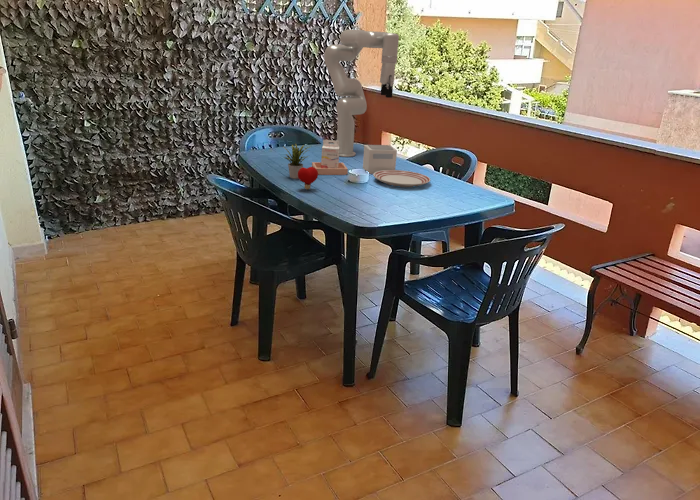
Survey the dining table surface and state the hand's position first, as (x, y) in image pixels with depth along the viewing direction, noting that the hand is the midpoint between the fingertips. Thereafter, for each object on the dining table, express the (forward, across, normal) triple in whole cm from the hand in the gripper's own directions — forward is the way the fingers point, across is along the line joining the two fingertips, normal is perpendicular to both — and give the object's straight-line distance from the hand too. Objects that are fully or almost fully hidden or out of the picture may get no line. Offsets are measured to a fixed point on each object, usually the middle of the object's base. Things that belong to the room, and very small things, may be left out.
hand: (386, 96), depth 269 cm
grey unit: (+36, +8, -3) cm, 37 cm away
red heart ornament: (+36, +42, -44) cm, 71 cm away
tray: (+36, +10, -29) cm, 48 cm away
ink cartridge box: (+36, +10, -29) cm, 47 cm away
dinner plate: (+37, +29, +3) cm, 47 cm away
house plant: (+36, +22, -46) cm, 63 cm away
